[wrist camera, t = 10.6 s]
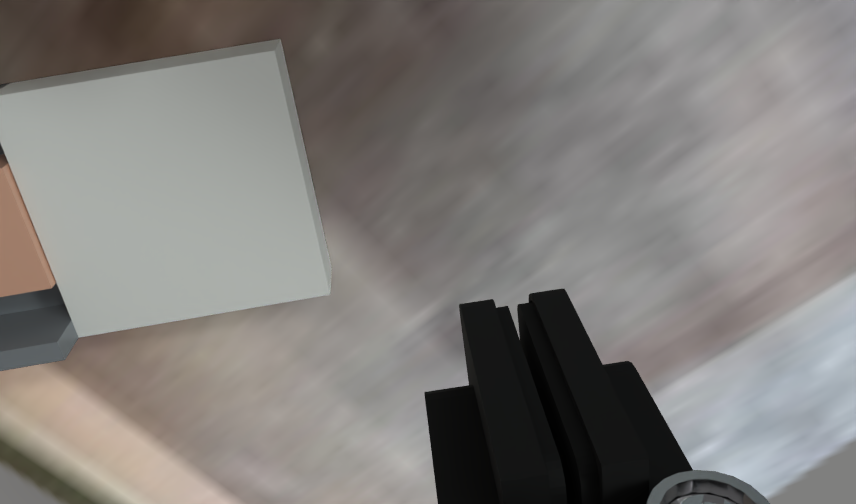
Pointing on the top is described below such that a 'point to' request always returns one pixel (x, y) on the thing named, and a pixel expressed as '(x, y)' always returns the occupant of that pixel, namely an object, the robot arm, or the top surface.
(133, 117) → the plate
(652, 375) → the top surface
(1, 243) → the tile
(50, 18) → the top surface
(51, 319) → the bin
